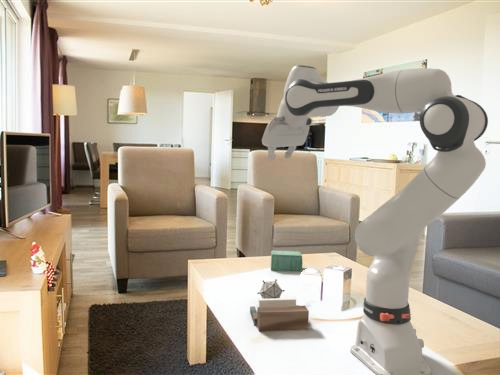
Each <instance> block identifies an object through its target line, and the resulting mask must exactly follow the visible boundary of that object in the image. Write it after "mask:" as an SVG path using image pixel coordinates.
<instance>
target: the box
mask: <svg viewBox="0 0 500 375" xmlns="http://www.w3.org/2000/svg"><path fill="white" fill-rule="evenodd" d="M270 254H271V255H270V271H277V272H278V271H280V272H300V271H301V272H302V270H303V256H302V252H301V251H293V250H291V251H290V250H271V252H270Z"/></svg>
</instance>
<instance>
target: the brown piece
mask: <svg viewBox="0 0 500 375" xmlns="http://www.w3.org/2000/svg"><path fill="white" fill-rule="evenodd" d="M249 314H250V317H251V320H252V322H253V325H254V326H257V330H258V332H261V333H264V332H288V331H289V332H291V331H308V330H309V314H310V311H309V309H308V308H307V306H306V305H299V304H298V305H297V304H296V306H271V307H259V306H257V309H256V306H249Z"/></svg>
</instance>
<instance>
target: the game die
mask: <svg viewBox="0 0 500 375" xmlns="http://www.w3.org/2000/svg"><path fill="white" fill-rule="evenodd" d="M277 281H278V280H277V279H275V281H264V280H262V286H261V289H260V290H259V292H258V291H257V295H260V296H261V299H271V298H281V295H282V293H283V292H285V291H286V290H284V289H282V288H281V287H280V285H279V284H278V282H277Z"/></svg>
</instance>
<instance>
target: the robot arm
mask: <svg viewBox="0 0 500 375" xmlns="http://www.w3.org/2000/svg"><path fill="white" fill-rule="evenodd" d="M319 72H320V71H319V70H318V69H317V68H316V67H314V66H310V65H301V64H300V65H299V64H298V65H295V66H293V67H292V68H291V70H290V71H289V74H288V76H287V79H286V82H285V85H284V87H283V88H284V89H283V97H282V99H281V102H280V104H279V107H278V111H277V115H276V116H274V117H272V119H271V120H270V121H269V122H268V124H267V125H266V127H265V129H264V133H263V136H262V138H261V143H262V145H263V146H265V147H266V148H267V151H268V155H267V159H268V160H270V161H274V160H275V159H276V156H277V155H276V154H275V151H276V150H277V148H287V147H288V148H287V150H286V151H285V152H284V156H283V157H284V158H286V159H291V158H292V155H293V153H294V152H295V150H296V149H297V146H304V144H305V142H306V140H307V139H308V134H309V131H310V126H312V124H313V121H314V120H313V118H312V117H321V118H322V117H330V116H332V115H334V114H335V113H336V112H337V110H338V109H339V107H354V108H361V109H365V110H369V111H373V112H378V113H379V112H380V113H385V114H412V113H413V114H414V113H420V115H419V125H420V128H421V131H422V133H423V134H424V135H425V137H426V139H427V140H428V142H429V143H430V146H431V147H432V149H433V150H435V151H437V153H436V155H435V156H433V158H432V159H431V160H430V161H429V162H428V163H427V164H426V165H425V166H424V167H423V168H422V169H421V170H420V171H419V172H418V173H417V174H416V176H414V177H413V178H412V179H411V181H409V182H408V184H407V185H405V186H404V187H403V188H402V189H401V190H399V191H398V192H397V193H396V194H395V195H393V196H392V197H390V198H389V199H388V200H386V201H385V202H384V203H383V204H382V205H380V206H379V207H378V208H377V209H376V210H375V211H373V212H372V213H371V214H370V215H368V216H367V217H366V218H365V219H363V220H362V221H360V222H359V223H358V225H357V226H356V228H355V231H354V240H355V244H356V246H357V248H358V249H359V250H360V251H361V252H362V253H363V254H364V255H367V256H370V257H373V259H372V262H371V263H370V266H369V267H368V269H367V273H366V285H365V286H366V288H365V289H366V291H365V297H364V298H363V304H362V306H363V310H362V311H363V313H364V314H362V317H361V318H360V319H359V321H358V322H357V327H356V328H357V329H356V337H355V344H354V345H352V346H351V347H350V353H351V354H353V355H354V356H355V357H356V358H357V359H359V360H360V362H362V363H363V364H364V365H365V366H366V367H367V368H369V369H370V370H371V371H372V372H373V373H374V374H376V375H432V369H431V368H430V366H429V364H428V363H427V361H426V360H425V358H424V357H423V348H424V346H425V344H424V343H425V341H424V340H423V339H422V338H418V335H417V330H416V328H414V327H413V325H412V322H411V319H412V317H411V315H412V314H411V313H412V312H411V309H410V308H411V307H410V304H409V295H410V294H409V292H410V291H409V290H410V280H411V273H412V269H413V265H414V261H415V257H416V255H417V249H418V246H419V243H420V241H421V239H422V237H423V235H424V233H425V228H426V227H428V226H429V225H430V224H432V223H433V222H435V221H436V220H437V219H439V218H440V217H441V216H442V215H443V214H444V213H445V212H446V211H447V210H449V208H451V207H452V205H454V204H455V203H456V202H458V200H460V198H462V196H464V195H465V194H466V193H467V192H468V190H470V189H471V187H472V186H473V185H474V184H475V183H476V182H477V180H478V179H479V177H481V175H482V174H483V172H484V171H485V169H486V163H487V162H486V159H485V156H484V154H483V152H482V151H481V150H480V149H479V148H478V147H477V146H476V144H475V141H477V140H479V139H480V138H481V137H482V136H483V135H484V134H485V132H486V130H487V128H488V125H489V118H488V114H487V112H486V110H485V109H484V108H483V107H482V106H481V105H480V104H479V103H478V102H476V101H473V100H471V99H469V98H466V97H465V96H462V95H459V94H456V95H454V94H453V90H452V82H451V78H450V76H449V75H448V73H447V72H446V71H444V70H443V69H441V68H440V69H439V68H431V67H430V68H427V67H424V68H423V67H421V68H406V69H398V70H393V71H389V72H384V73H383V72H382V73H381V74H380V73H379V74H376V75H371V76H366V77H363V78H359V79H354V80H347V81H346V80H345V81H336V82H328V81H327V80H325V79H324V77H323V76H322V75H321V74H320V73H319Z"/></svg>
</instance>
